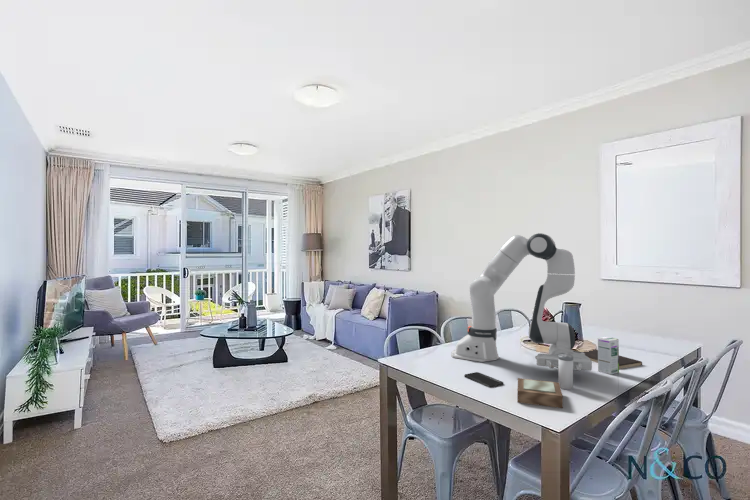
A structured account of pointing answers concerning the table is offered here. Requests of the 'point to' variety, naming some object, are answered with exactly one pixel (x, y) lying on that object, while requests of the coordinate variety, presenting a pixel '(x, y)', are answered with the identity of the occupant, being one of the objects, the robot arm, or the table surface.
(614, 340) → the syrup box
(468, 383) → the table surface
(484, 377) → the phone
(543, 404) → the walnut base
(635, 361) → the hardcover book
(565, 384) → the canister
